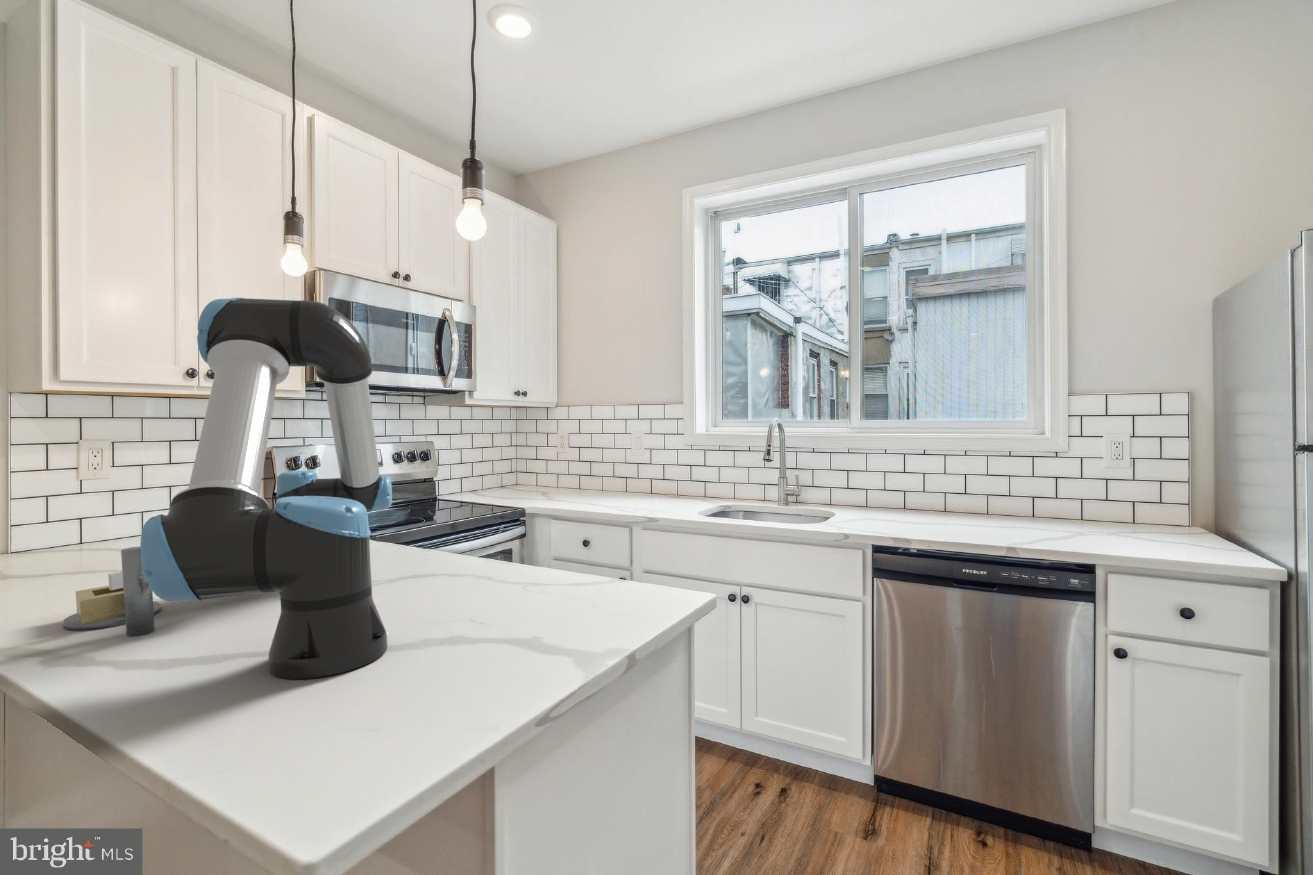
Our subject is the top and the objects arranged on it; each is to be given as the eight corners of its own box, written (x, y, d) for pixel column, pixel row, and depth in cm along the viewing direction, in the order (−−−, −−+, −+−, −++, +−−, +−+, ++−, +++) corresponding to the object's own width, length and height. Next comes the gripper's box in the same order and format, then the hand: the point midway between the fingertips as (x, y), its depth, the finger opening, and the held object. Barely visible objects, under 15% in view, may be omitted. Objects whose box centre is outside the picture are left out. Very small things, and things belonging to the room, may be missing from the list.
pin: (156, 631, 101) (151, 547, 101) (127, 638, 99) (122, 552, 98) (152, 627, 104) (147, 545, 103) (124, 633, 101) (119, 548, 101)
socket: (166, 615, 110) (165, 588, 110) (66, 636, 100) (64, 606, 100) (154, 601, 119) (152, 576, 118) (61, 619, 109) (59, 591, 109)
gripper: (306, 577, 118) (192, 613, 98) (213, 570, 126) (89, 601, 105) (304, 539, 117) (189, 566, 97) (211, 534, 125) (86, 558, 105)
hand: (137, 584), depth 101 cm, fingers open, 13 cm apart
